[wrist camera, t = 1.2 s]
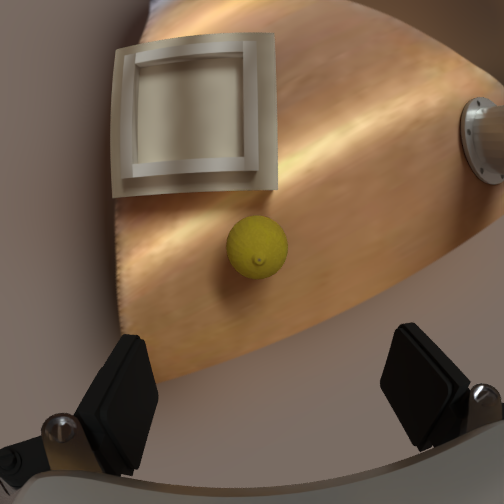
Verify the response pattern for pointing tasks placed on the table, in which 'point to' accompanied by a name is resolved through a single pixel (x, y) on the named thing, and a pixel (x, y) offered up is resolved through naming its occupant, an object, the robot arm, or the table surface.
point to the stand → (195, 115)
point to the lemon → (257, 247)
